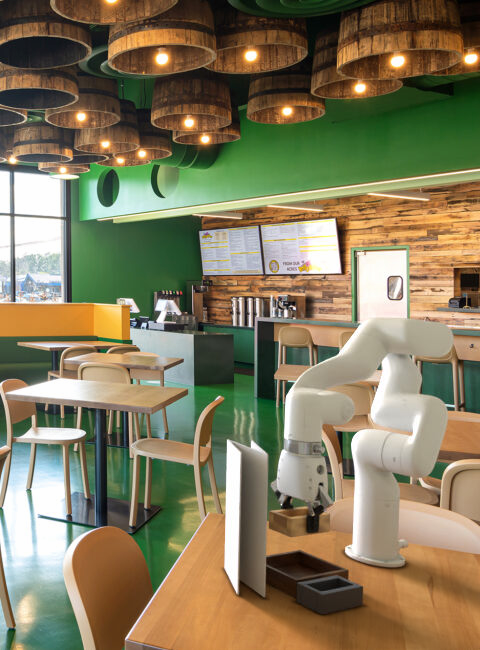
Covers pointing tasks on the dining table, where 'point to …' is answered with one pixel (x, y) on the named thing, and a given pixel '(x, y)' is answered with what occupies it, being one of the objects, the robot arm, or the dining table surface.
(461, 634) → the dining table surface
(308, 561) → the holder
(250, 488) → the brochure
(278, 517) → the frame top
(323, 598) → the frame low
